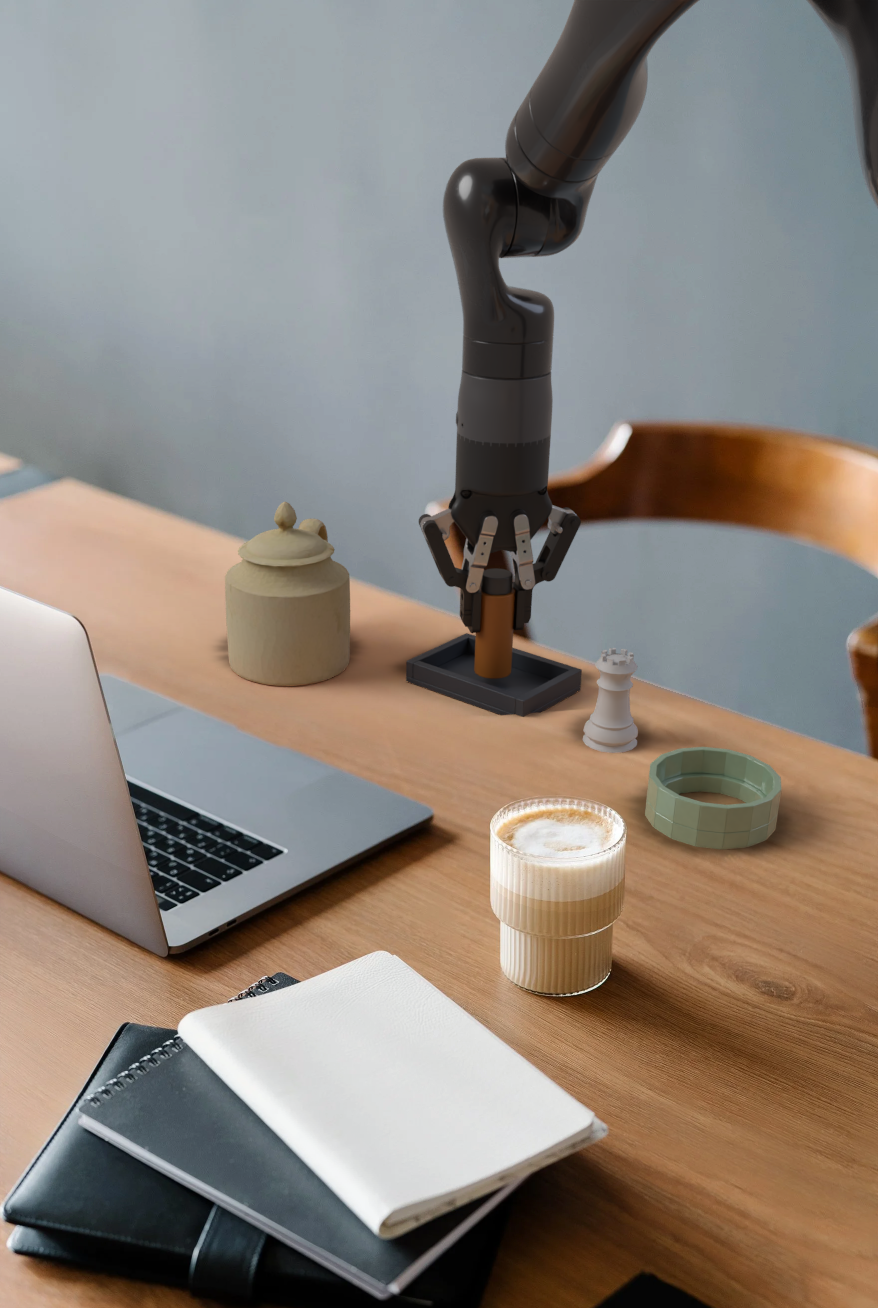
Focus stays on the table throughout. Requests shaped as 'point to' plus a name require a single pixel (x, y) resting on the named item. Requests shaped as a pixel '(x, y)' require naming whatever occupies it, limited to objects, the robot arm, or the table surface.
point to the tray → (518, 693)
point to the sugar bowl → (288, 606)
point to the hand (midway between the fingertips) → (495, 627)
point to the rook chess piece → (613, 705)
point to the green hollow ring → (713, 775)
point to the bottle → (495, 625)
